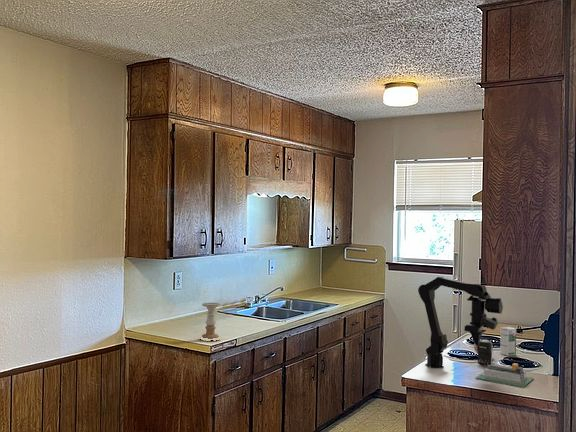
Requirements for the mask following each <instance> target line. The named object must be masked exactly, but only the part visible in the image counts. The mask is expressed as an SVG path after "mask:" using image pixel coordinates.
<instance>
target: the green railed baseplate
mask: <svg viewBox="0 0 576 432" xmlns="http://www.w3.org/2000/svg"><path fill="white" fill-rule="evenodd" d="M492 364H495V365H496V363H495V362H492V363H491V365H486V366H487V367H485V368H484V369H483V372H482V373H481V374H479V375H477V376H476V377H475V379H476V380H480V381H485V382H492V383H498V384H502V385H507V386H512V387H519V388H525V387H526V386H527V385H528V384H530V383H531V382H532V381H533V380H534V379H535V378H534V377H530V376H528V375H527V371H526V370H524V367H522V366H518V368H517V371H516V372H513V371H508V370H502V369H497V368H492Z"/></svg>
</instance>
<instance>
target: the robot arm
mask: <svg viewBox="0 0 576 432" xmlns="http://www.w3.org/2000/svg"><path fill="white" fill-rule="evenodd" d="M481 284H482V283H480V282H479V283H477V282H464V281H460V280H455V279H451V278H446V277H444V276H437V277H436V278H434V279H432V280H431V281H428V282H427V283H426V284H421V285H420V286H419V287H418V289H417V292H418V295H419V297H420V299H421V301H422V302H423V304H424V307H425V311H426V316H427V319H428V324H429V329H430V338H429V339H430V341H429V342H430V345H429V346H428V347H427V348H426V349H425V351H426V354H427V355H426V356H427V359H426V363H424V365H425V366H427V367H430V368H432V369H437V368H439V369H443V368H444V367H445V366H444V356H443V353H444V350H446V349H447V347H448V343H449V341H448V339H447V337H448V336H447V334H446V333H444V334H443V332H442V329H441V326H440V321H439V317H438V314H437V313H438V312H437V309H436V306H435V297H436V290H438V289H439V288H440V287H446V288H451V289H454V290H458V291H462V292H464V293H467V294H469V295H470V296H468V297H467V299H466V300H467V301H468V302H469V301H470V302H471V309H470V311H471V312H470V313H469V316H470V318H471V319H470V322H469V324H466V325H464V332H469V333H470V335H471V337H472V340H473V342H474V344H475V345H477V346H478V345H479V342H480V340H482V339H481V338H482V336H483V334H484V333H485V332H486V331H487V329H490V330H492V331H493V330H496V329H497V327H498V325H499V321H498V319H497V318H496V317H495V316H493V317H492V318H490V317H488V316H487V313H492V314H502V313H503V308H504V307H503V302H502V298H499V297H491V295H490V294H489V292H488V291H487V286H486V285H485V286H483V285H481ZM485 312H487V313H485ZM484 328H487V329H484Z"/></svg>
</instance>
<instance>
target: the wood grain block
mask: <svg viewBox="0 0 576 432" xmlns="http://www.w3.org/2000/svg"><path fill="white" fill-rule="evenodd" d="M518 367H519V363H515V362H514V363H512V364H511V367H509V366H505V365H500V364H496V363H495V364H492V368H497V369H502V370H508V371H513V372H516V371H517V368H518Z"/></svg>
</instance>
